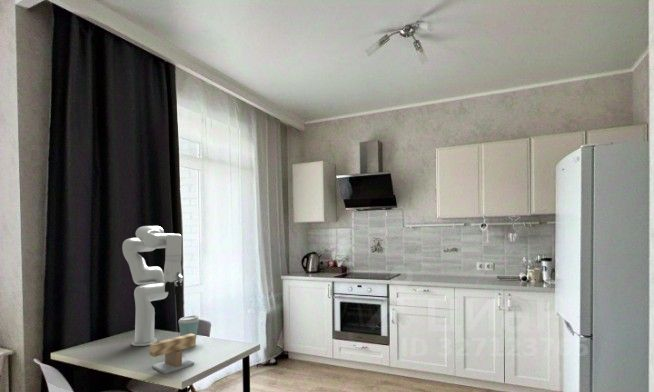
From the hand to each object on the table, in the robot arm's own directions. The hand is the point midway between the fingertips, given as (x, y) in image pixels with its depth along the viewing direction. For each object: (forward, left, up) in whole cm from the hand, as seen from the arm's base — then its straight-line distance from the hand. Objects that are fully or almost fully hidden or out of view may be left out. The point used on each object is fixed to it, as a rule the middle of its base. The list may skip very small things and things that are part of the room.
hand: (172, 292), depth 192 cm
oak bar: (+15, -7, -23) cm, 29 cm away
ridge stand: (+15, -7, -30) cm, 35 cm away
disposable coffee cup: (-7, +13, -31) cm, 34 cm away
